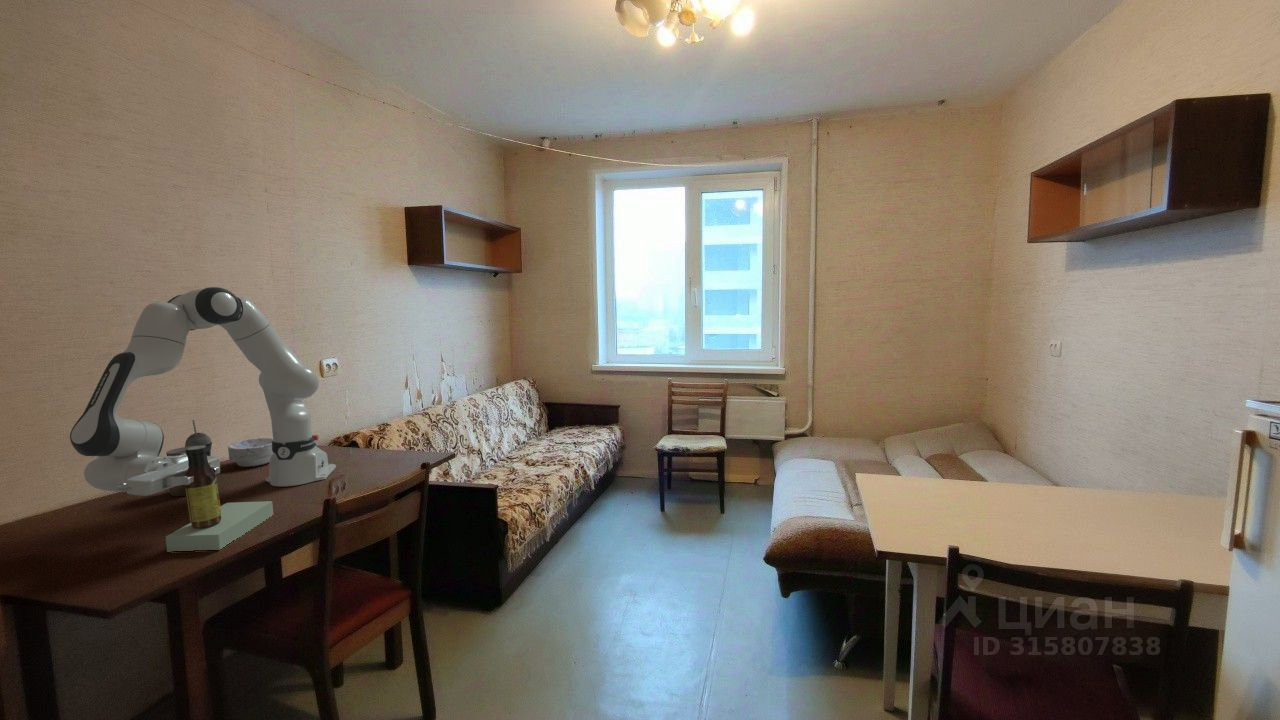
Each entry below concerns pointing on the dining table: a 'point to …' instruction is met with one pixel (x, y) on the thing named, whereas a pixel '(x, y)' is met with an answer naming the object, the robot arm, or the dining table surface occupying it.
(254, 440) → the paper bowls
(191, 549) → the pale green rectangular block
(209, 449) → the beverage cup
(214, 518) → the sauce bottle
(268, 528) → the dining table surface
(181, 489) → the pillar candle
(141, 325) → the robot arm
